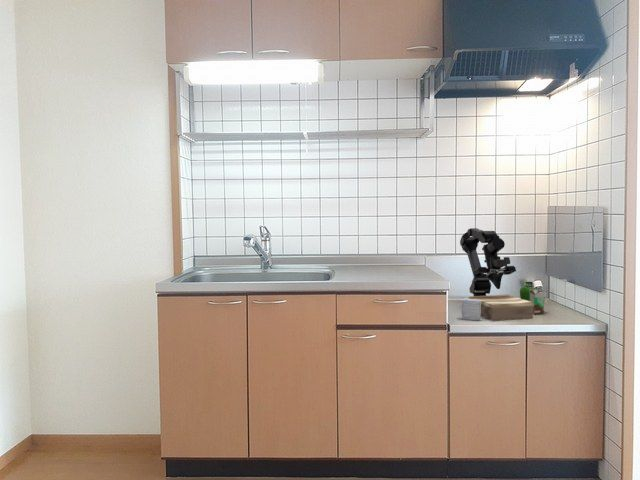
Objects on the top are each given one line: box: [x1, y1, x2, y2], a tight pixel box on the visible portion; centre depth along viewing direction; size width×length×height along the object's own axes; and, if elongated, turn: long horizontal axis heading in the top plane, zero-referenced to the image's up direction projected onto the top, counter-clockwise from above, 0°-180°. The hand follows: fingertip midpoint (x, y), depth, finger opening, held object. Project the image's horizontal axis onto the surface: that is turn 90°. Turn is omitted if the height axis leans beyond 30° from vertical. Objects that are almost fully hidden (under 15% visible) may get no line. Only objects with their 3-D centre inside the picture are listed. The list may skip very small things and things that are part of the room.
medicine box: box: [461, 298, 482, 321], centre depth 226 cm, size 8×4×9 cm, turn 71°
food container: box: [530, 288, 548, 315], centre depth 239 cm, size 12×6×10 cm, turn 168°
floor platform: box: [468, 293, 534, 322], centre depth 235 cm, size 20×20×7 cm
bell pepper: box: [519, 283, 537, 301], centre depth 259 cm, size 8×8×10 cm
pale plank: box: [480, 296, 533, 308], centre depth 231 cm, size 12×20×2 cm, turn 104°
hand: (498, 288), depth 235 cm, fingers closed
